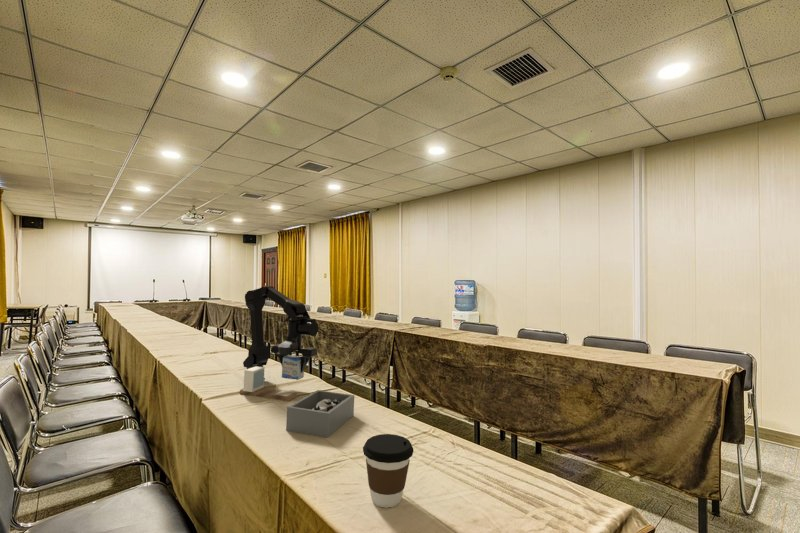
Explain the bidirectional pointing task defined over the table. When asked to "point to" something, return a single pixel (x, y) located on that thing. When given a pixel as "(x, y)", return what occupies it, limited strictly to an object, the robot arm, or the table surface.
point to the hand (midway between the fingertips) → (293, 371)
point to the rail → (272, 394)
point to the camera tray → (319, 414)
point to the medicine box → (292, 367)
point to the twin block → (253, 378)
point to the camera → (326, 405)
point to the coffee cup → (387, 467)
